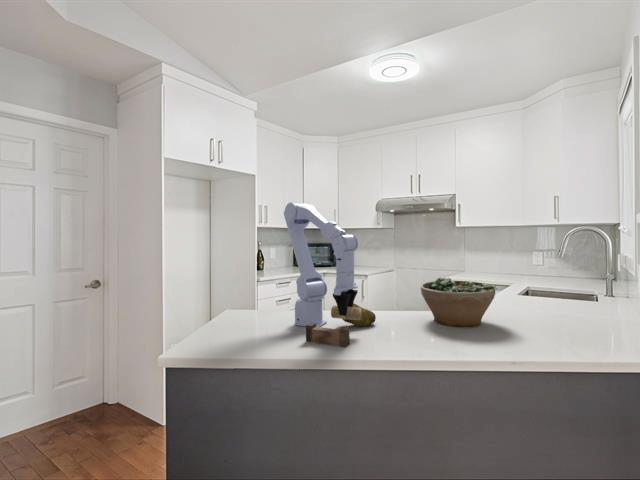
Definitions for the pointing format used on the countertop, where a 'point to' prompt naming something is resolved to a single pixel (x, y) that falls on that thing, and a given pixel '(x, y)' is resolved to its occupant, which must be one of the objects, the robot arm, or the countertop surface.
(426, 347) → the countertop surface
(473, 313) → the planter
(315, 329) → the stop rail
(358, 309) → the roller
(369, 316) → the potato
